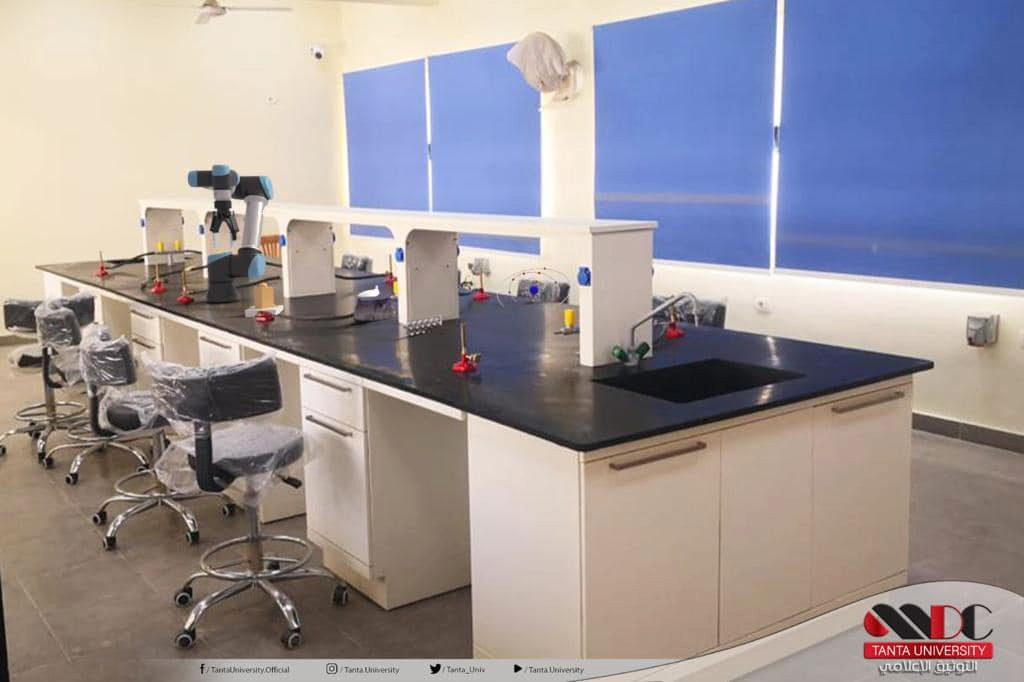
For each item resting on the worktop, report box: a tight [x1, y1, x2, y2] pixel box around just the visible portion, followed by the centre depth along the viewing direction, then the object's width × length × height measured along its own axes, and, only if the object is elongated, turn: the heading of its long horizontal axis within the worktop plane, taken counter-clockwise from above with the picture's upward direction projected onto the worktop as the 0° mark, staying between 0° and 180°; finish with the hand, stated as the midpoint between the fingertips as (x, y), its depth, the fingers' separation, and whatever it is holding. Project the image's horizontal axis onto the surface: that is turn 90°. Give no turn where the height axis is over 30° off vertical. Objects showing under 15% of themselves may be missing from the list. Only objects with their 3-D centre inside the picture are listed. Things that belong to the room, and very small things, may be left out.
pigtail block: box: [244, 304, 284, 318], centre depth 435 cm, size 18×13×7 cm
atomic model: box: [496, 267, 572, 307], centre depth 433 cm, size 28×21×30 cm
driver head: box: [356, 285, 380, 298], centre depth 478 cm, size 10×11×12 cm
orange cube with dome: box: [253, 282, 275, 309], centre depth 434 cm, size 6×6×11 cm
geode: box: [353, 297, 397, 322], centre depth 407 cm, size 20×12×10 cm, turn 147°
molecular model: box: [400, 315, 443, 339], centre depth 375 cm, size 25×9×6 cm, turn 145°
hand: (225, 247), depth 446 cm, fingers open, 13 cm apart
